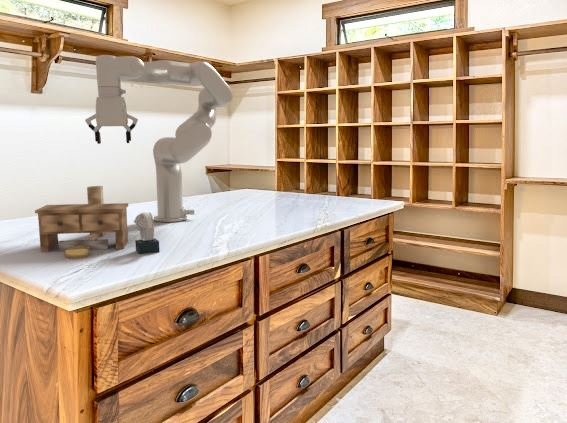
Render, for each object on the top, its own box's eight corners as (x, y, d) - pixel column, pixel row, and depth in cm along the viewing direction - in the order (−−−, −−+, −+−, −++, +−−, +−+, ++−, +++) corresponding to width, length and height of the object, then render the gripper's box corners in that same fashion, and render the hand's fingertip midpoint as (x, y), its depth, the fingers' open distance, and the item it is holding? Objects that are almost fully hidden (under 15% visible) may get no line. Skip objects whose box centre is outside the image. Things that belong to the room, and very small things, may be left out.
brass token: (92, 253, 131) (91, 245, 131) (86, 259, 125) (86, 250, 125) (69, 254, 130) (68, 246, 130) (62, 260, 124) (62, 251, 124)
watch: (153, 247, 138) (152, 210, 137) (161, 253, 131) (159, 214, 130) (133, 249, 135) (132, 211, 134) (140, 255, 129) (138, 215, 127)
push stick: (119, 233, 158) (117, 185, 155) (107, 249, 136) (104, 193, 133) (77, 234, 155) (74, 186, 153) (59, 250, 133) (55, 194, 131)
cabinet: (129, 241, 146) (128, 203, 145) (124, 249, 135) (122, 208, 133) (50, 243, 142) (47, 204, 140) (37, 253, 131) (34, 210, 129)
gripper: (136, 93, 168) (140, 142, 171) (85, 94, 165) (89, 143, 168) (135, 92, 161) (138, 143, 164) (80, 92, 158) (85, 144, 161)
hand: (113, 143), depth 166 cm, fingers open, 9 cm apart
